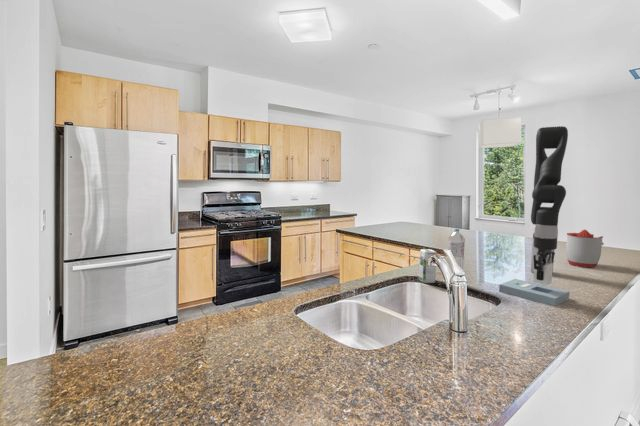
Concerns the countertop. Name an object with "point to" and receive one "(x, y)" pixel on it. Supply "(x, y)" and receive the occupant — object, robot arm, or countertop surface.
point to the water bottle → (457, 247)
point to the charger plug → (545, 274)
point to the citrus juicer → (583, 249)
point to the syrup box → (426, 266)
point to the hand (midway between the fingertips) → (542, 278)
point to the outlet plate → (534, 292)
